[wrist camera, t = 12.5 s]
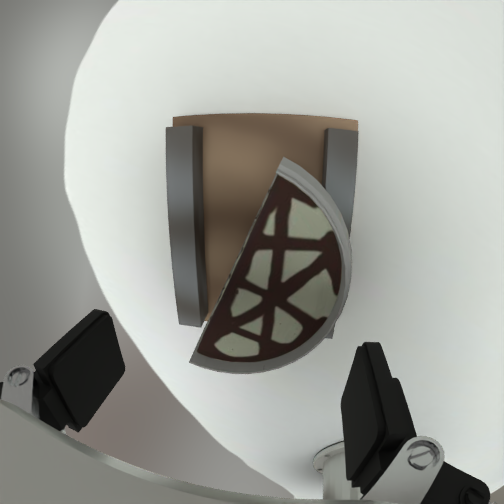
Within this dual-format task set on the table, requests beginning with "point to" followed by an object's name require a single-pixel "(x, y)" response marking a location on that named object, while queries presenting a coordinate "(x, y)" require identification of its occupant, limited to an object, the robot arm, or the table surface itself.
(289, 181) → the food container
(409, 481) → the robot arm
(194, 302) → the cradle
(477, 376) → the table surface
